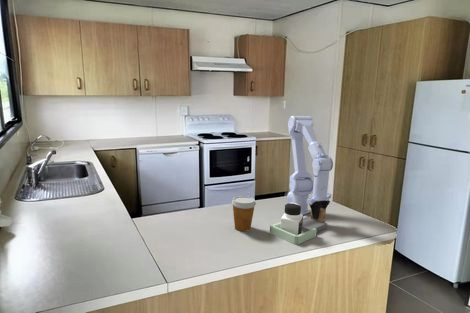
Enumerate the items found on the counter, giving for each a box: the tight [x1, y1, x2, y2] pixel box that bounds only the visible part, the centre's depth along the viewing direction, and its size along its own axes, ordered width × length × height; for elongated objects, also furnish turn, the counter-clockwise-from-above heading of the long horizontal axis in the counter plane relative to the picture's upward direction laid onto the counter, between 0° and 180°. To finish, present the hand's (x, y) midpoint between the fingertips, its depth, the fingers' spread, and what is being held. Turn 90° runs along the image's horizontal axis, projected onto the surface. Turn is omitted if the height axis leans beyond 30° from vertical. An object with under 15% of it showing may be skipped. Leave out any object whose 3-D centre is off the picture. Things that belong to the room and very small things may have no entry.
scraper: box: [302, 208, 328, 233], centre depth 131 cm, size 9×12×7 cm
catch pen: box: [269, 221, 317, 246], centre depth 124 cm, size 13×12×3 cm
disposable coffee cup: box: [231, 195, 257, 232], centre depth 128 cm, size 10×10×12 cm
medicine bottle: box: [280, 203, 304, 236], centre depth 124 cm, size 7×7×12 cm
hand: (317, 217), depth 135 cm, fingers closed on scraper, 3 cm apart
